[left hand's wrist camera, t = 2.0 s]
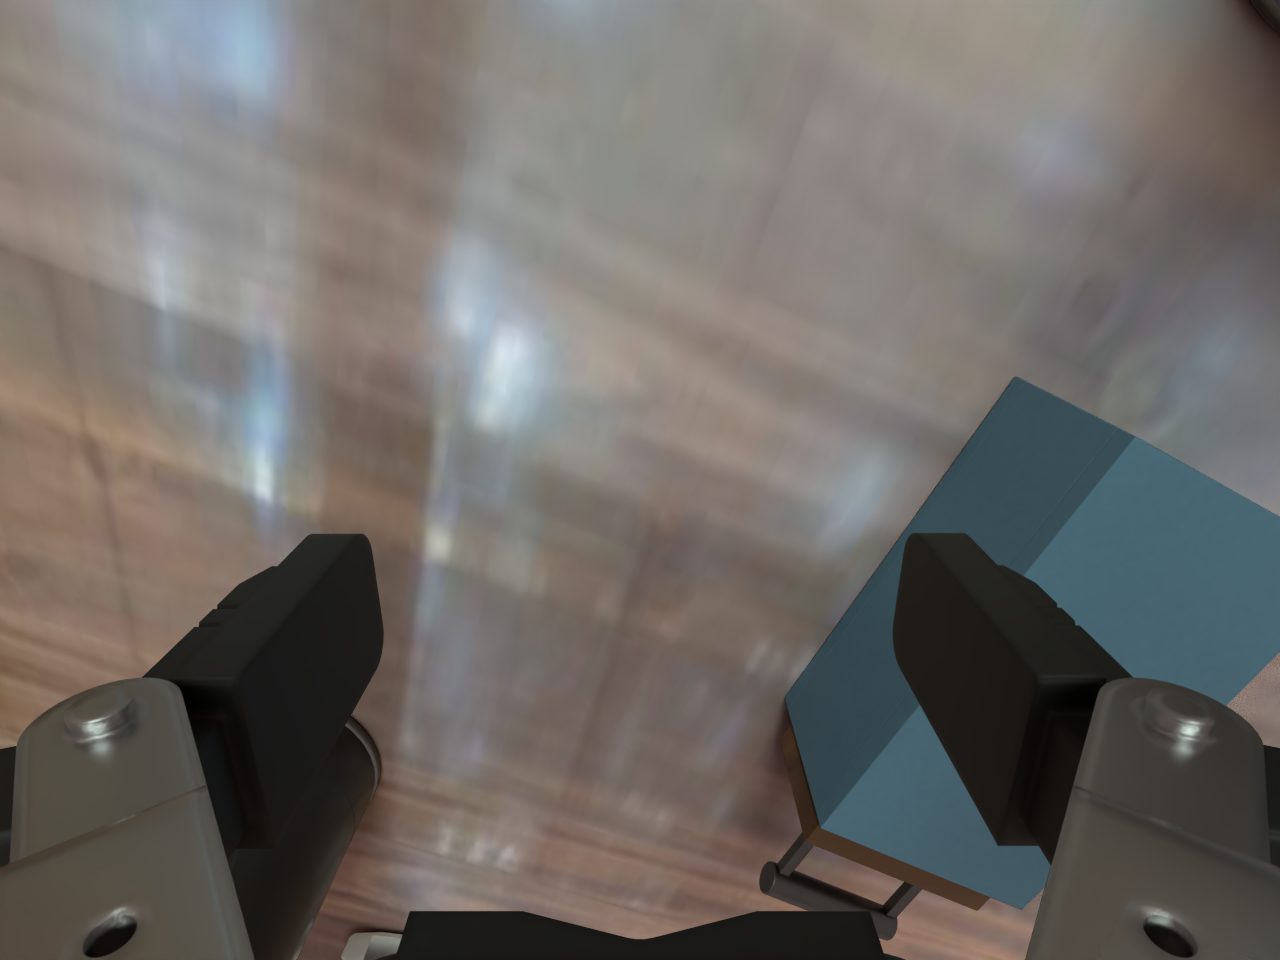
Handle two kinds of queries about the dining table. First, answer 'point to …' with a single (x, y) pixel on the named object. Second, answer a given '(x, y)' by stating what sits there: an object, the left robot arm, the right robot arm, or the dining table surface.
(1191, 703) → the left robot arm
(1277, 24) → the right robot arm
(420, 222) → the dining table surface
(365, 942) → the pistol
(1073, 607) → the blue box
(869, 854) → the drawer
